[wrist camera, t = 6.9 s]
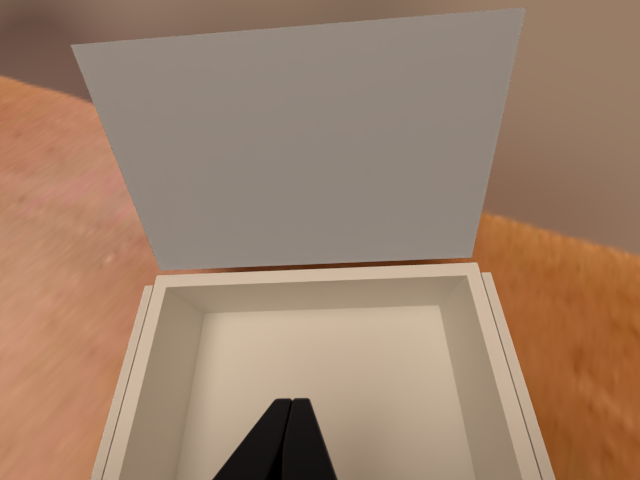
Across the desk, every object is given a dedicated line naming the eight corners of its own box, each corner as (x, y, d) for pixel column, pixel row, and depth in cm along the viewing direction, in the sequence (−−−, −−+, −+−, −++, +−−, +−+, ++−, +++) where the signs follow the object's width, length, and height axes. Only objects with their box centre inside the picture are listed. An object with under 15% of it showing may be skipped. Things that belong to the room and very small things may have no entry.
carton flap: (525, 7, 9) (516, 10, 10) (70, 44, 10) (81, 46, 10) (471, 257, 14) (467, 251, 14) (160, 270, 14) (165, 264, 15)
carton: (515, 565, 12) (608, 649, 8) (143, 561, 13) (45, 637, 9) (452, 297, 18) (487, 262, 14) (192, 306, 19) (147, 275, 14)
